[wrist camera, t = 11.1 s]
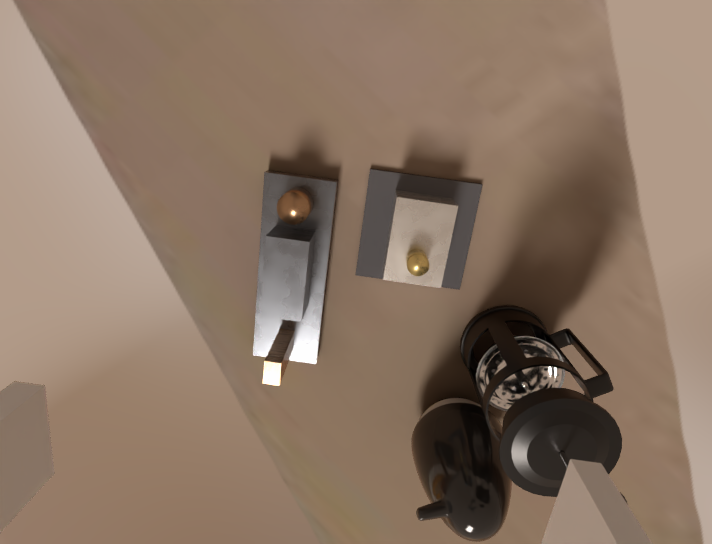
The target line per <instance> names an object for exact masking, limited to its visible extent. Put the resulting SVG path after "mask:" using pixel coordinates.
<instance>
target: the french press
mask: <svg viewBox="0 0 712 544" xmlns="http://www.w3.org/2000/svg"><path fill="white" fill-rule="evenodd" d="M507 322H524V323H525V324H527V325H528V326H529V327H530V328H531V329H532V330H533V332H534V334H535V337H536V338H535V337H531V336H523V335H518V336H513V334H512V333H511V331H510V330H509V328H508V326H507V325H506V323H507ZM488 329H489V331H490V333H491V335H492V337H493V339H494V341H495V344H493V345H492V346H491V347H490V348H489V349H488V350H487V351H486V352H485V353H484V355H483V357H482V358H481V360H480V362H479V364H478V362H477V361H476V359H475V357H474V354H473V346H474V344H475V342H476V341H477V339H478V338H479V337H480V336H481V335H482V334H483V333H484V332H486V331H487V330H488ZM571 344H572V345H573V346H574V347H575V348H576V349H577V351H578V352H579V353H580V354H581V355H582V356H583V358H584V359H585V360H586V361H587V362H588V364H589V365H590V366H591V367H592V368H593V370H594V371H595V372H596V373H597V374H598V376H595V377H593V378H590V379H587V380H583V378H582V377H581V376H580V374H579V373H578V372H577V371H576V369H575V368H574V367H573V365H572V364H571V363H570V361H569V360H568V359H567V358H566V356H565V355H564V354H563V352H562V351H561V350H560V348H562V347H565V346H567V345H571ZM460 349H461V355H462V358H463V361H464V363H465V365H466V367H467V368H468V369H469V372H470V375H471V378H472V381H473V384H474V387H475V390H476V392H477V395H478V398H479V401H480V404H481V407H482V410H483V412H484V415H485V418H486V421H487V424H488V427H489V429H490V431H491V432H492V434H493V436H494V437H495V438H496V439H497V440H498V441H499V458H500V461H501V464H502V467H503V470H504V471H505V473H506V474H507V476H508V477H509V478H510V479H511V480H512V481H513V482H514V483H515V484H516V485H518V486H519V487H521V488H522V489H524V490H526V491H528V492H531V493H533V494H537V495H542V496H551V497H557V496H558V493H559V490H560V488H561V485H562V482H563V479H564V476H565V473H566V470H567V467H568V464H569V461H570V459H575V460H582V461H589V462H596V463H601V464H602V465H603V467H604V468H605V470H606V472H607V473H608V474H609V473H610V472H611V471H612V469H613V468H614V467H615V465H616V463H617V461H618V459H619V457H620V453H621V449H622V437H621V433H620V429H619V427H618V425H617V423H616V422H615V420H614V419H613V417H612V416H611V415H610V414H609V413H608V412H607V411H606V410H605V409H604V408H602V407H601V406H599V405H598V404H596V403H594V402H593V398H594V397H597V396H600V395H603V394H606V393H608V392H611V391H613V385H612V382H611V380H610V377H609V374H608V372H607V371H606V370H605V369H604V368H603V367H602V365H601V364H600V363H599V362H598V361H597V360H596V359H595V358H594V356H593V355H592V354H591V353H590V352H589V351H588V350H587V349H586V347H585V346H584V345H583V344H582V343H581V342H580V341H579V339H578V338H577V337H576V336H575V335H574V334H573V333H572V332H571V330H570V329H563V330H561V331H558V332H556V333H553V334H551V335H549V334H548V333H547V330H546V328H545V326H544V325H543V323H542V322H541V320H540V319H539V318H538V317H537V316H536V315H534V314H533V313H532V312H530V311H528V310H526V309H524V308H521V307H517V306H507V305H504V306H497V307H493V308H490V309H487V310H485V311H483V312H482V313H480V314H478V315H477V316H476V317H475V318H473V319H472V321H471V322H470V323H469V324H468V325H467V327H466V329H465V330H464V332H463V335H462V338H461V345H460ZM565 370H566V371H568V372H570V373H571V374H572V376H573V377H574V378H575V380H576V381H577V383H578V384H579V385H580V387H581V388H582V389H583V391H584V394H585V395H583V394H581V393H579V392H576V391H574V390H570V389H566V388H561V386H562V384H563V381H564V377H565ZM481 395H482V396H481ZM482 397H483V399H482ZM489 404H490V405H492V406H493V407H495V408H497V409H500V410H502V411H507V412H506V414H505V416H504V420H503V427H502V434H501V433H500V432H498V431H497V430H496V429H495V428H494V427H493V426H492V424H491V421H490V418H489V415H488V407H489ZM620 494H621V493H620ZM621 495H622V494H621ZM622 497H623V498H624V500H625V501H626V499H625V497H624V496H623V495H622ZM626 503H627V501H626ZM627 505H628V504H627Z"/></svg>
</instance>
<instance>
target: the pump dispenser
mask: <svg viewBox="0 0 712 544" xmlns="http://www.w3.org/2000/svg"><path fill="white" fill-rule="evenodd" d="M488 415H489V418H490V421H491V424H492V426H493V427H494V428H495V429H496V430H497V431H498V432H500V433H501V434H502V425H501V424H500V422H499V421H498V419H497V418H496V417H495V416H494V415H493V414H492V413H491V412H489V411H488ZM411 445H412V454H413V459H414V463H415V466H416V470H417V473H418V476H419V479H420V481H421V484H422V486H423V488H424V491H425V493H426V495H427V497H428V498H429V500H430V502H431V504H428V505H425V506H422V507H419V508H418V509H417V511H416V514H417V518H418V519H419V520H420V521H424V520H430V519H437V518H441V519H442V520H443V521H444V523H445V524H446V525H447V526H448V527H449V528H450V529H451V530H452V531H453V532H454V533H456V534H457V535H458V536H460V537H462V538H463V539H466V540H469V541H474V542H480V541H485V540H488V539H490V538H492V537H493V536H495V535H496V534H497V533H498V532H499V530H500V529H501V527H502V525H503V523H504V521H505V519H506V516H507V512H508V508H509V504H510V498H511V489H512V480H511V479H510V478H509V477H508V476H507V474H506V473H505V471H504V470H503V467H502V464H501V461H500V458H499V441H498V440H497V439H496V438H495V437H494V436H493V434H492V432H491V431H490V429H489V427H488V424H487V421H486V418H485V415H484V412H483V410H482V407H481V405H479V404H477V403H476V402H473V401H471V400H468V399H463V398H449V399H444V400H441V401H439V402H437V403H435V404H433V405H432V406H430V407H429V408H428V409H427V410H426V411H425V412H424V413H423V415H422V416H421V418H420V419H419V422H418V423H417V425H416V427H415V429H414V431H413V434H412V441H411Z"/></svg>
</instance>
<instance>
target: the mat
mask: <svg viewBox="0 0 712 544" xmlns="http://www.w3.org/2000/svg"><path fill="white" fill-rule="evenodd" d="M481 189H482V184H477V183H470V182H462V181H455V180H448V179H441V178H433V177H426V176H419V175H411V174H404V173H397V172H390V171H382V170H375V169H370V174H369V181H368V189H367V196H366V203H365V211H364V218H363V225H362V233H361V240H360V247H359V254H358V262H357V269H356V275H358V276H365V277H373V278H380V279H383V262H384V256H385V250H386V244H387V238H388V232H389V226H390V220H391V214H392V208H393V202H394V196H395V190H398V191H405V192H411V193H418V194H425V195H432V196H438V197H445V198H452V199H453V200H454V202H455V203H456V204H457V205H458V210H457V215H456V220H455V224H454V229H453V234H452V238H451V243H450V248H449V252H448V257H447V262H446V266H445V271H444V276H443V280H442V285H441V287H445V288H452V289H459V290H460V286H461V281H462V277H463V272H464V267H465V263H466V258H467V254H468V249H469V244H470V240H471V235H472V231H473V226H474V221H475V217H476V212H477V207H478V203H479V198H480V194H481Z"/></svg>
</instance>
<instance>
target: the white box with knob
mask: <svg viewBox="0 0 712 544" xmlns="http://www.w3.org/2000/svg"><path fill="white" fill-rule="evenodd" d="M457 210H458V205H457V204H456V203H455V202H454V200H453V199H452V198H445V197H438V196H432V195H425V194H418V193H411V192H405V191H398V190H395V196H394V202H393V208H392V214H391V220H390V226H389V232H388V238H387V244H386V250H385V256H384V262H383V280H389V281H396V282H403V283H409V284H416V285H423V286H430V287H437V288H441V285H442V280H443V276H444V271H445V266H446V262H447V257H448V252H449V248H450V243H451V238H452V234H453V229H454V224H455V220H456V215H457Z"/></svg>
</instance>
